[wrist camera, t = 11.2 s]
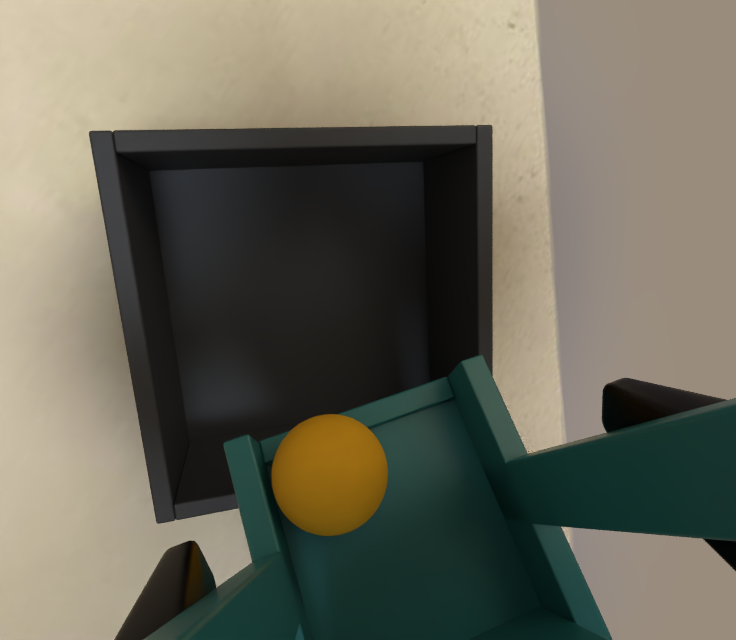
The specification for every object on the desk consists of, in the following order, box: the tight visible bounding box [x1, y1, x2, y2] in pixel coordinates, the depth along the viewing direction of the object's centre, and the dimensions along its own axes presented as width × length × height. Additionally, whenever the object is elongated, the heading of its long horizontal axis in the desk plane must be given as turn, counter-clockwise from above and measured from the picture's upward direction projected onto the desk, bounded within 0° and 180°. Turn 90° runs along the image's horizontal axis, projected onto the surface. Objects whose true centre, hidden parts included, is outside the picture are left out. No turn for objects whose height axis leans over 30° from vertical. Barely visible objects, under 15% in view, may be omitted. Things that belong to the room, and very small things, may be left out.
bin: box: [89, 125, 492, 524], centre depth 18 cm, size 12×12×6 cm
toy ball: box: [271, 414, 388, 536], centre depth 12 cm, size 3×3×3 cm
